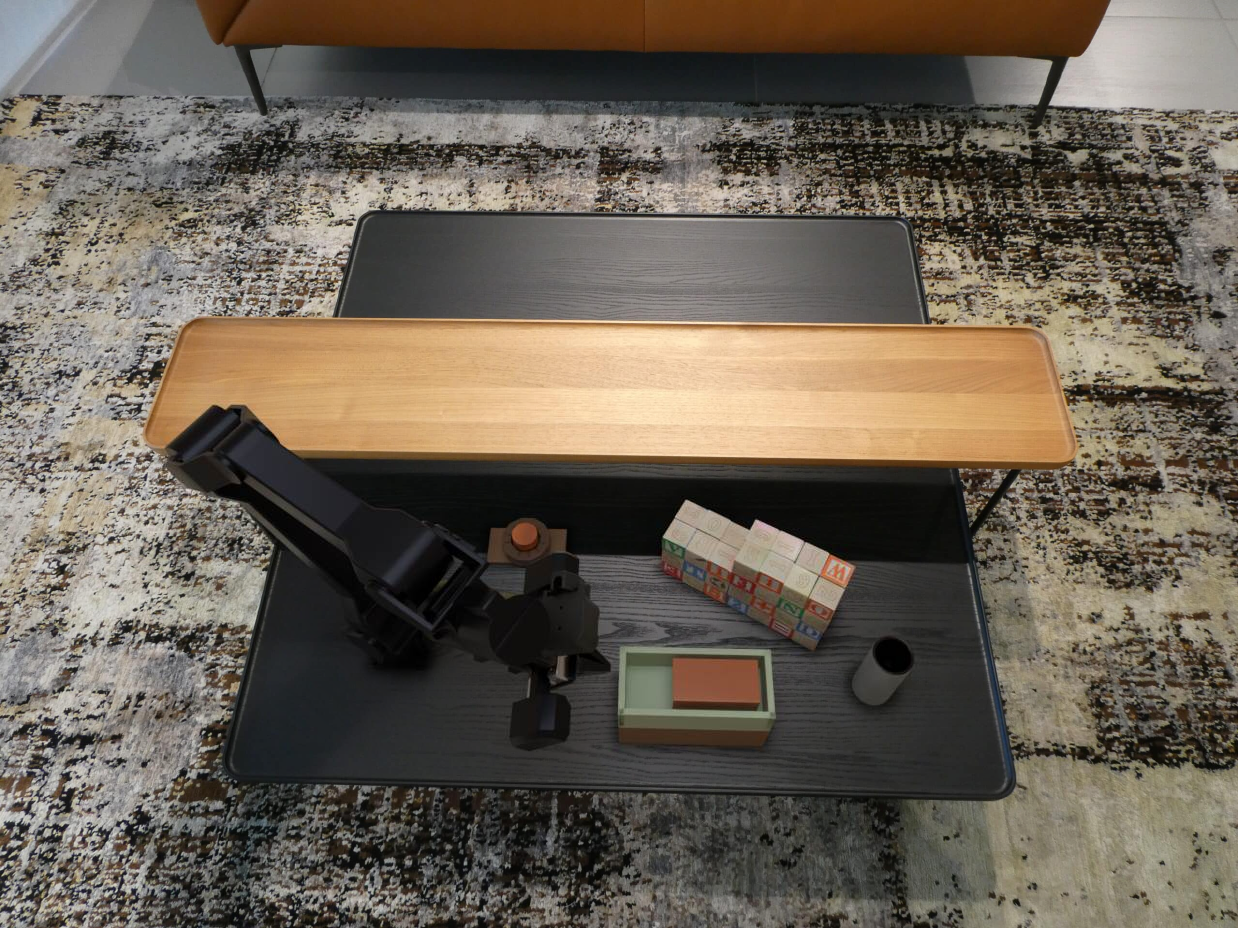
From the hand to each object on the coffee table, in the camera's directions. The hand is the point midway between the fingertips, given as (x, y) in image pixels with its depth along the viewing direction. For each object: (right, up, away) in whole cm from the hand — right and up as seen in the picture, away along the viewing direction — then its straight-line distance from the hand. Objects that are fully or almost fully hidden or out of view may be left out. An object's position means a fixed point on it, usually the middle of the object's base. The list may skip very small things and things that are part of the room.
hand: (608, 668), depth 86 cm
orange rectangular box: (+7, -3, +4) cm, 8 cm away
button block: (-11, +10, +23) cm, 27 cm away
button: (-11, +11, +21) cm, 26 cm away
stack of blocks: (+17, +5, +19) cm, 26 cm away
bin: (+9, -8, +11) cm, 16 cm away
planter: (+31, -5, +12) cm, 33 cm away
